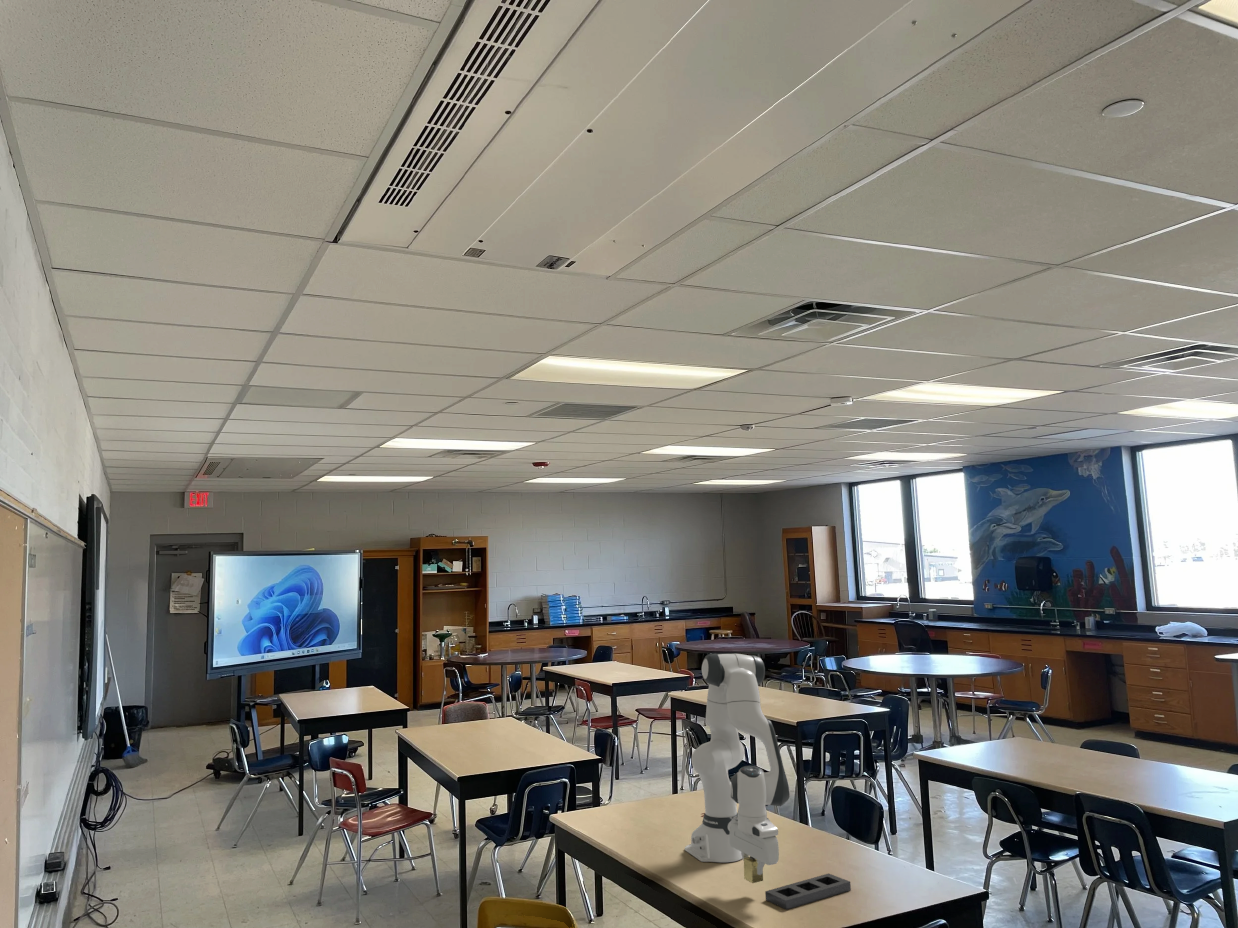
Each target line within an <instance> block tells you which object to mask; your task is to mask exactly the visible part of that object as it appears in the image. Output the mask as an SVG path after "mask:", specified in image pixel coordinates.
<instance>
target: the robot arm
mask: <svg viewBox="0 0 1238 928" xmlns="http://www.w3.org/2000/svg"><path fill="white" fill-rule="evenodd" d="M701 674H702V678H703V680H704V681H705V682H706V683H707V684H709V685H708V689H707V697H706V710H705V711H706V712H705V723H706V724H707V725H708V726H709V730H710V741H708V742H705V743H702V744H700V745H699V746H698V747H697V748H696V749H695V750H694V751H693V752H692V754H691V765H692V768H693V770H694V772H696V773H697V774H698V776H699V778H700V781H701V785H702V787H703V795H704V796H703V797H704V810H705V811H704V812H703V813H701V816H700V818H702V823H701V824H700V825H699V826H698V827H697V828H696V829H693V831H692V832H691V837H690V838H691V839H690V841H691V842H690V844H687V845H686V846H684V851H685V852H686V853H688V854H689V855H692V856H693V857H694V858H695V859H697V860H699V861H700V862H702V863H703V862H705V863H709V862H711V863H733V862H738V861H740V860H743V862H744V858H747V857H750V856H751V857H753V858H755V859H757V863H758V865H757V867H755V873H756V874H758V875H761V874H763V875H764V871H763V870H764V867H765V865H767V866H772V865H776V864H778V862H779V858H780V857H779V855H780V849H779V848H780V847H779V840H778V837H777V836H778V835H779V829H778V827H777V826H776V825H775V824H774V823H773V822H772V821H771V820H770V819H769V817H768V816H767V815H768V811H767V809H766V806H773V807H782V806H783V805H785V804H786V803H787V802H788V801H789V799H790V797H791V795H790V794H791V788H790V783H789V780H788V778H787V774H786V772H785V768H784V764H783V760H782V755H781V752H780V751H781V750H780V746H779V744H778V743H779V742H778V739H777V738H778V737H777V735H776V731H775V728H774V725H773V723H772V721H771V720H770V719H767V717H766V716H765V715H764V712H763V710H762V707H761V704H762V703H761V698H760V697H761V696H760V689H759V685H761V684H762V683H763V682H764V680H765V676H766V667H765V662H764V661H763V660H762V658H761V657H759V656H758V655H757V656H756V655H753V654H748V655H747V654H743V653H742V654H741V653H711V654H707V655H706V656H705V657H704V658H703V660H702V664H701ZM739 731H740V732H742V733H743V734H745V735H746V734H747V735H749V736H752V737H754V738H756V739H758V740H759V741H760V742H762V744H763V746H764V748H765V752H766V756H767V760H768V763H769V769H770V771H767V772H764V770H763V769H762V768H761V767H758V766H757V765H756V766H754V765H745V766H742V767H741V768H740V769H738V772H736V773H735V774H734V775H733V776H732V777H731V778H729V770H731V769H733V768H736V767H737V766H738V765H739V764H740V763H741V762H742V761H743V760H744V758H745V757H744V756H745V747H744V745H743V743H742V742H741V740H740V737H739ZM737 804H738V809H737Z"/></svg>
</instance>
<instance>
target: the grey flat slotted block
mask: <svg viewBox="0 0 1238 928" xmlns="http://www.w3.org/2000/svg"><path fill="white" fill-rule="evenodd" d="M849 891H850V892H851V891H852V888H851V881H850V880H847V879H845V878H842V877H839V876H837V875H834V874H832V873H825V874H822V875H819V876H815V877H811V878H807V879H804V880H800V881H797V882H794V883H793V882H792V883H790V884H786V885H783V886H780V887H775V888H772V889H769V890H765V891H764V894H765V901H767V902H768V903H771V904H773V905H775V906H777V907H780V908H782V909H784V910H785V911H786V910H791V909H794V908H797V907H800V906H803V905H804V906H805V905H807V904H811V903H814V902H817V901H821V900H823V899H827V898H830V897H833V896H837V895H839V894H843V893H846V892H849Z"/></svg>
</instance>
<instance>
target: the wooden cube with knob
mask: <svg viewBox="0 0 1238 928" xmlns="http://www.w3.org/2000/svg"><path fill="white" fill-rule="evenodd" d="M757 865H758V863H757V859H755V858H753V857H751V856H749V857H747V858H744V861H743V875H744V877H743V879H744V880H745V881H747V882H749V883H751V884H754V883H755V884H756V883H760V882H764V873H763V874H761V875H758V874H756V873H755V867H757Z"/></svg>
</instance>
